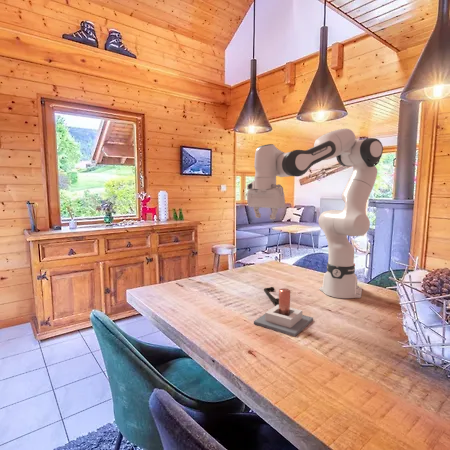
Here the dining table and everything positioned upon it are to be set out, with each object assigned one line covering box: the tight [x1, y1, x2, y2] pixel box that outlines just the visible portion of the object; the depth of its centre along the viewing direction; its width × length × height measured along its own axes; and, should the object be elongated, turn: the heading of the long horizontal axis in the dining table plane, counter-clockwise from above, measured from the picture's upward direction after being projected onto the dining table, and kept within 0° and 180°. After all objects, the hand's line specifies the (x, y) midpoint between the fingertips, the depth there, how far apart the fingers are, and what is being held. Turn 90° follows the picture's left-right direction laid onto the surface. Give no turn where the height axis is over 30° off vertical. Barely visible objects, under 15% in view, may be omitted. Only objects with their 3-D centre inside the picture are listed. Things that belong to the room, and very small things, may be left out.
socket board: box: [253, 305, 314, 337], centre depth 111 cm, size 16×16×4 cm
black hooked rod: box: [263, 286, 279, 307], centre depth 132 cm, size 5×5×30 cm
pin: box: [278, 288, 291, 316], centre depth 110 cm, size 4×4×11 cm
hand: (265, 218), depth 126 cm, fingers open, 8 cm apart
